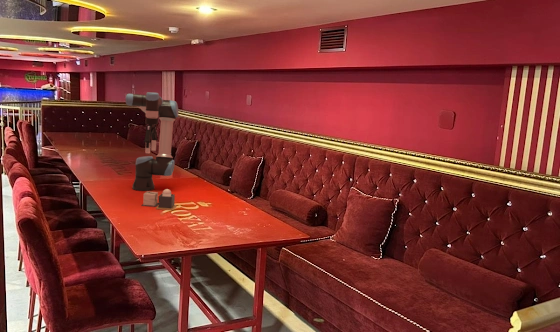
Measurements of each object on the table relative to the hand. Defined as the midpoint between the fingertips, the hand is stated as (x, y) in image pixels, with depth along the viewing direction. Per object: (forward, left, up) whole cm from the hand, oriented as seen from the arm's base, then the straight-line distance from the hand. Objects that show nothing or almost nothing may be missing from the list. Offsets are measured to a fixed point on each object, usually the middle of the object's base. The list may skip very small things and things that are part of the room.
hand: (150, 151), depth 293 cm
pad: (+4, +2, -33) cm, 33 cm away
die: (+4, +2, -32) cm, 33 cm away
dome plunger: (+8, +13, -31) cm, 34 cm away
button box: (+8, +13, -33) cm, 36 cm away
